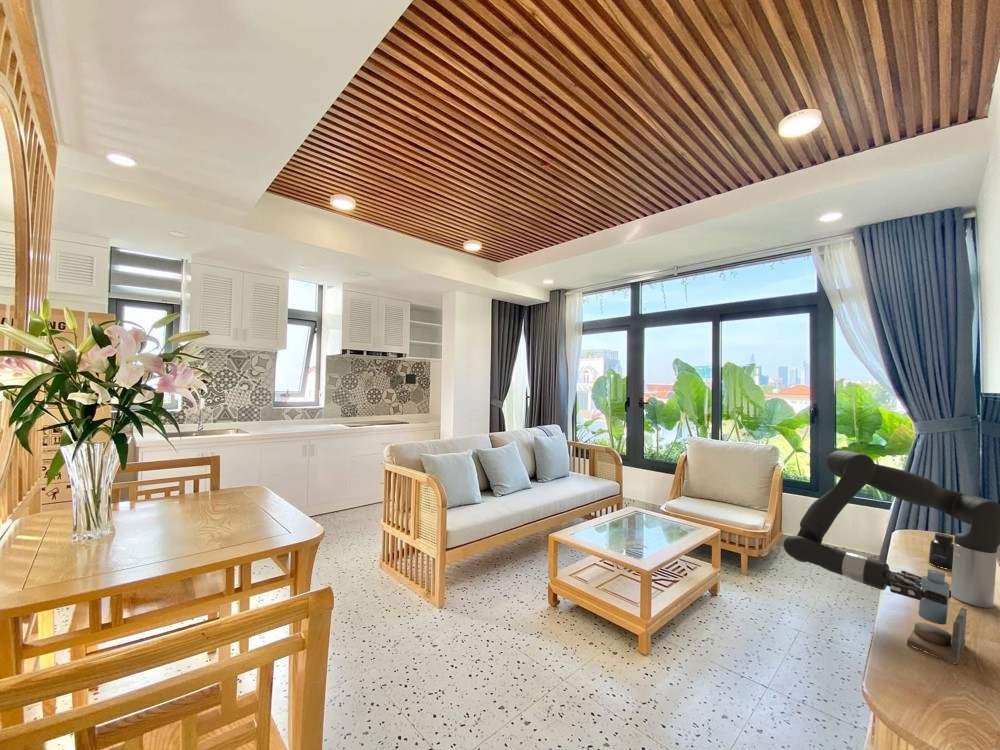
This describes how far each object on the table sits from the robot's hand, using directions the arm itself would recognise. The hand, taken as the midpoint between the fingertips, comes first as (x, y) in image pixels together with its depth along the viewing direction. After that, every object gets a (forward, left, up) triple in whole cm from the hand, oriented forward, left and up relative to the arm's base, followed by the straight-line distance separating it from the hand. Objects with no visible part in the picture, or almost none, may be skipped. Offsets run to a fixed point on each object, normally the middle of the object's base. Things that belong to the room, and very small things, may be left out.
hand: (948, 597), depth 111 cm
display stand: (0, -2, -13) cm, 13 cm away
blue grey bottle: (0, -3, -7) cm, 7 cm away
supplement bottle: (-72, -9, -14) cm, 74 cm away
